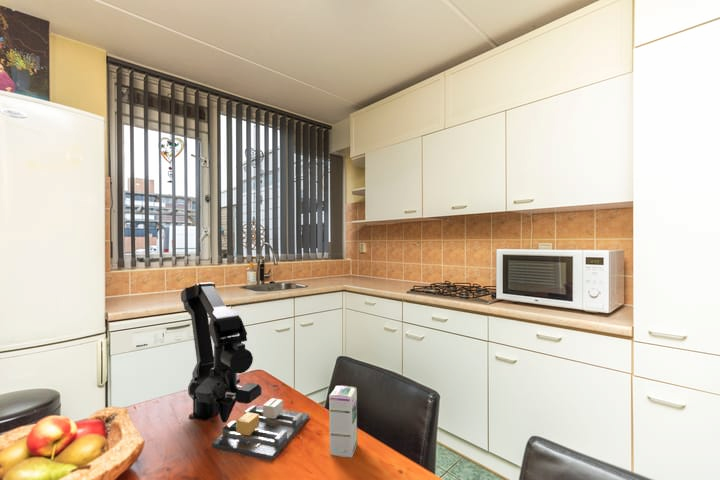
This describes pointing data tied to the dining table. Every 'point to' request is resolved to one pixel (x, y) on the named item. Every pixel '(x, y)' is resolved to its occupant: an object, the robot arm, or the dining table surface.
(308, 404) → the dining table surface
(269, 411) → the fader ivory
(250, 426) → the fader amber
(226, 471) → the dining table surface
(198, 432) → the dining table surface
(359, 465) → the dining table surface
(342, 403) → the syrup box
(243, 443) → the console
